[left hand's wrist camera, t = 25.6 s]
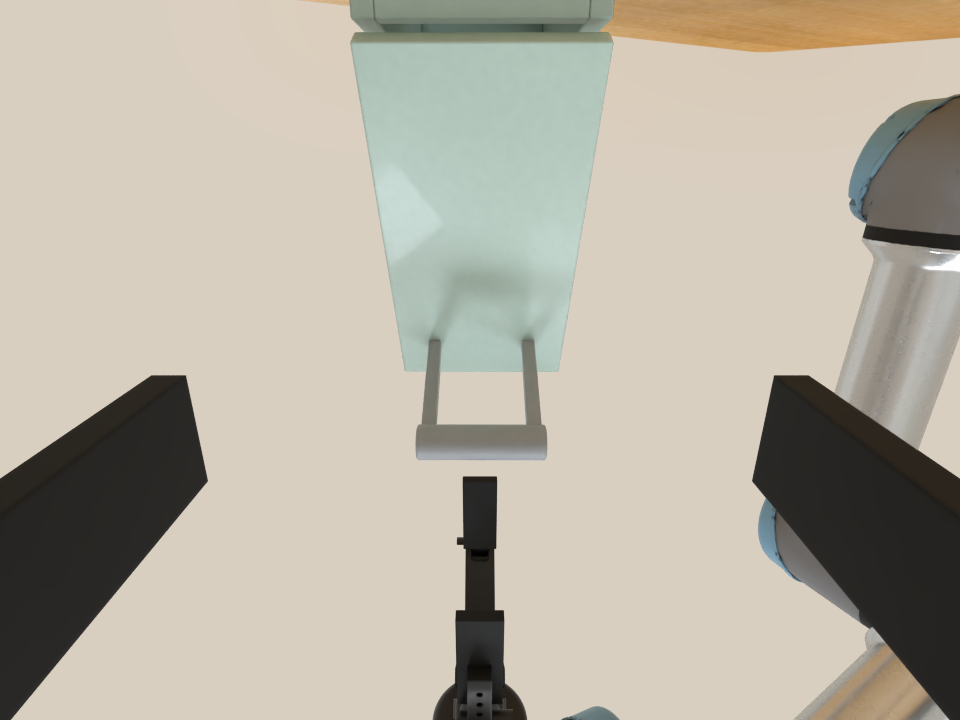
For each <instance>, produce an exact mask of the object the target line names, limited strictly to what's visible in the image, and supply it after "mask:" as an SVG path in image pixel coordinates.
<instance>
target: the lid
mask: <svg viewBox="0 0 960 720" xmlns="http://www.w3.org/2000/svg"><path fill="white" fill-rule="evenodd" d="M350 44H351V50H352V56H353V62H354V68H355V74H356V80H357V86H358V92H359V98H360V104H361V110H362V116H363V122H364V128H365V134H366V140H367V146H368V152H369V158H370V164H371V170H372V176H373V182H374V188H375V194H376V200H377V206H378V212H379V218H380V224H381V230H382V236H383V242H384V248H385V254H386V260H387V266H388V272H389V278H390V284H391V290H392V296H393V302H394V308H395V314H396V320H397V326H398V332H399V338H400V344H401V350H402V356H403V362H404V368H405V371H425V372H426V379H425V390H424V402H423V413H422V425H418V427H417V431H416V457H417V459H418V460H545V459H546V456H547V431H546V427H545V425H542V424H541V413H540V401H539V389H538V377H537V372H558V370H559V364H560V358H561V352H562V346H563V340H564V334H565V328H566V323H567V317H568V311H569V305H570V299H571V293H572V287H573V281H574V275H575V269H576V263H577V257H578V251H579V245H580V239H581V233H582V227H583V221H584V215H585V209H586V203H587V198H588V192H589V186H590V180H591V174H592V168H593V162H594V156H595V150H596V144H597V138H598V132H599V126H600V120H601V114H602V108H603V102H604V96H605V90H606V84H607V78H608V72H609V66H610V61H611V55H612V48H613V40H612V37H611V35H610V33H609V32H356V33H354V35H353V37H352V40H351V43H350ZM440 372H523V382H524V398H525V414H526V425H437V413H438V398H439V383H440Z"/></svg>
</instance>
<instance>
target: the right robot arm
mask: <svg viewBox="0 0 960 720" xmlns="http://www.w3.org/2000/svg"><path fill="white" fill-rule="evenodd" d="M849 197H850V198H851V201H850V203H849V205H850V210H851V212H852V213H853V215H854V216H855V217H857V218H858V219H860V220H861V221H862V222H865V223H866V227H865V231H864V234H863V238H862V242H863V243H864V244H865V246H866V247H867V248H868V249H869V251H870V252H871V253H872V255H873V258H874V262H873V265H872V268H871V272H870V275H869V279H868V282H867V285H866V289H865V292H864V295H863V299H862V302H861V305H860V309H859V312H858V316H857V319H856V322H855V325H854V329H853V332H852V336H851V339H850V342H849V346H848V349H847V352H846V356H845V359H844V363H843V366H842V369H841V373H840V376H839V379H838V383H837V386H836V389H835V394H836V395H838V396H839V397H841V398H842V399H844V400H845V401H847V402H848V403H850V404H851V405H853V406H854V407H855V408H857V409H858V410H860V411H861V412H863V413H864V414H866V415H867V416H869V417H870V418H872V419H873V420H875V421H876V422H877V423H879V424H880V425H882V426H883V427H885V428H886V429H888V430H889V431H891V432H892V433H894V434H895V435H897V436H898V437H899V438H901V439H902V440H904V441H905V442H907V443H908V444H910V445H911V446H913V447H914V448H916V449H917V450H918V449H919V446H920V443H921V441H922V438H923V435H924V432H925V430H926V427H927V424H928V421H929V419H930V416H931V413H932V410H933V408H934V405H935V402H936V400H937V397H938V394H939V391H940V389H941V386H942V383H943V380H944V378H945V375H946V372H947V369H948V367H949V364H950V361H951V358H952V356H953V353H954V350H955V348H956V345H957V342H958V339H959V337H960V94H958V95H953V96H950V97H948V98H941V99H932V100H924V101H918V102H915V103H911V104H909V105H907V106H904V107H902V108H901V109H899V110H897V111H896V112H895V113H893V114H892V115H891V116H890V117H889V118H888V119H887V120H886V121H885V122H884V123H882V124H881V125H880V126H879V127H878V128H877V129H876V131H875V132H874V133H873V134H872V136H871V137H870V139H869V140H868V142H867V143H866V145H865V146H864V148H863V150H862V152H861V154H860V156H859V158H858V160H857V162H856V165H855V167H854V170H853V173H852V176H851V180H850V185H849ZM496 526H497V477H463V537H458V538H457V545H464V549H466V581H465V610H456V620H455V622H456V668H455V684H453V685H452V686H451V687H449V688H448V689H447V690H446V691H445V692H444V693H443V695H442V696H441V698H440V699H439V701H438V703H437V705H436V708H435V711H434V715H433V720H527V716H526V711H525V708H524V705H523V703H522V701H521V699H520V698H519V696H518V695H517V694H516V693H515V691H514V690H513V689H512V688H510V687H509V686H508V685H507V684H505V668H504V663H503V656H504V611H503V610H495V588H494V587H495V586H494V549H496ZM758 535H759V540H760V544H761V546H762V549H763V551H764V552H765V554H766V555H767V556H768V557H769V558H770V559H771V560H772V561H773V562H774V563H776V564H777V565H779V566H780V567H781V568H782V569H784V571H785V572H786V573H787V574H788V575H789V576H790V577H792V578H793V579H795V580H797V581H799V582H803V583H804V584H806V585H807V586H809V587H810V588H812V589H813V590H814V591H816V592H817V593H819V594H820V595H822V596H823V597H825V598H826V599H827V600H829V601H830V602H832V603H833V604H834V605H836V606H837V607H839V608H840V609H842V610H843V611H844V612H846V613H847V614H849V615H850V616H852V617H853V618H854V619H856V620H857V621H859V622H860V623H862V624H863V625H865V626H866V627H868V628H869V630H868V631H867V633H866V635H865V643H866V647H867V650H866V651H865V652H864V653H863V654H862V655H861V656H860V657H859V658H858V659H857V660H856V661H855V662H854V663H853V664H852V665H851V666H849V667H848V668H847V669H846V670H845V671H844V672H843V673H842V674H841V675H840V676H839V677H838V678H837V679H836V680H835V681H834V682H833V683H832V684H830V685H829V686H828V687H827V688H826V689H825V690H824V691H823V692H822V693H821V694H820V695H819V696H818V697H817V698H816V699H815V700H814V701H813V702H812V703H810V704H809V705H808V706H807V707H806V708H805V709H804V710H803V711H802V712H801V713H800V714H799V715H798V716H797V717H796V718H795V719H794V720H949V719H948V718H947V717H946V715H945V714H944V713H943V712H942V710H941V709H940V708H939V707H938V706H937V704H936V703H935V702H934V701H933V700H932V698H931V697H930V696H929V695H928V694H927V692H926V691H925V690H924V689H923V687H922V686H921V685H920V684H919V683H918V681H917V680H916V679H915V678H914V677H913V675H912V674H911V673H910V672H909V671H908V669H907V668H906V667H905V666H904V664H903V663H902V662H901V661H900V660H899V658H898V657H897V656H896V655H895V654H894V652H893V651H892V650H891V649H890V647H889V646H888V645H887V644H886V643H885V641H884V640H883V639H882V638H881V637H880V635H879V634H878V633H877V632H876V631H875V629H874V628H873V627H872V626H871V624H870V623H869V622H868V621H867V620H866V618H865V617H864V616H863V615H862V614H861V612H860V611H859V610H858V609H857V608H856V606H855V605H854V604H853V603H852V601H851V600H850V599H849V598H848V597H847V595H846V594H845V593H844V592H843V591H842V589H841V588H840V587H839V586H838V585H837V583H836V582H835V581H834V580H833V578H832V577H831V576H830V575H829V574H828V572H827V571H826V570H825V569H824V568H823V566H822V565H821V564H820V563H819V562H818V560H817V559H816V558H815V557H814V555H813V554H812V553H811V552H810V551H809V549H808V548H807V547H806V546H805V545H804V543H803V542H802V541H801V540H800V538H799V537H798V536H797V535H796V534H795V532H794V531H793V530H792V529H791V528H790V526H789V525H788V524H787V523H786V522H785V520H784V519H783V518H782V517H781V515H780V514H779V513H778V512H777V511H776V509H775V508H774V507H773V506H772V505H771V503H770V502H769V501H768V500H767V499H765V501H764V504H763V506H762V509H761V512H760V517H759V524H758ZM562 720H619V719H618V718H617V717H616V716H615V715H614V714H613V713H612V712H611V711H609V710H607V709H606V708H603V707H598V706H596V707H591V708H589V709H587V710H584V711H582V712H580V713H578V714H575V715H573V716H571V717H566V718H563V719H562Z"/></svg>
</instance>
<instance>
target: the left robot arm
mask: <svg viewBox="0 0 960 720" xmlns="http://www.w3.org/2000/svg"><path fill="white" fill-rule="evenodd" d="M207 482H208V479H207V474H206V470H205V465H204V460H203V455H202V451H201V446H200V441H199V436H198V431H197V427H196V422H195V417H194V412H193V407H192V403H191V398H190V393H189V388H188V383H187V379H186V376H184V375H176V376H175V375H170V376H169V375H167V376H166V375H162V376H161V375H160V376H159V375H154V376H153V375H152V376H150V377H149V378H147V379H146V380H144V381H143V382H141V383H140V384H138V385H137V386H135V387H134V388H132V389H131V390H130V391H128V392H127V393H125V394H124V395H122V396H121V397H119V398H118V399H116V400H115V401H113V402H112V403H110V404H109V405H107V406H106V407H105V408H103V409H102V410H100V411H99V412H97V413H96V414H94V415H93V416H91V417H90V418H88V419H87V420H86V421H84V422H83V423H81V424H80V425H78V426H77V427H75V428H74V429H72V430H71V431H69V432H68V433H66V434H65V435H64V436H62V437H61V438H59V439H58V440H56V441H55V442H53V443H52V444H50V445H49V446H47V447H46V448H44V449H43V450H41V451H40V452H39V453H37V454H36V455H34V456H33V457H31V458H30V459H28V460H27V461H25V462H24V463H22V464H21V465H19V466H18V467H17V468H15V469H14V470H12V471H11V472H9V473H8V474H6V475H5V476H3V477H2V478H0V720H11V719H12V718H13V716H14V715H15V714H16V713H17V712H18V710H19V709H20V708H21V707H22V706H23V704H24V703H25V702H26V701H27V700H28V698H29V697H30V696H31V695H32V694H33V692H34V691H35V690H36V689H37V687H38V686H39V685H40V684H41V683H42V681H43V680H44V679H45V678H46V677H47V675H48V674H49V673H50V672H51V670H52V669H53V668H54V667H55V666H56V664H57V663H58V662H59V661H60V660H61V658H62V657H63V656H64V655H65V654H66V652H67V651H68V650H69V649H70V647H71V646H72V645H73V644H74V643H75V641H76V640H77V639H78V638H79V637H80V635H81V634H82V633H83V632H84V631H85V629H86V628H87V627H88V626H89V624H90V623H91V622H92V621H93V620H94V618H95V617H96V616H97V615H98V614H99V612H100V611H101V610H102V609H103V607H104V606H105V605H106V604H107V603H108V601H109V600H110V599H111V598H112V597H113V595H114V594H115V593H116V592H117V590H118V589H119V588H120V587H121V586H122V584H123V583H124V582H125V581H126V580H127V578H128V577H129V576H130V575H131V574H132V572H133V571H134V570H135V569H136V568H137V566H138V565H139V564H140V563H141V561H142V560H143V559H144V558H145V557H146V555H147V554H148V553H149V552H150V551H151V549H152V548H153V547H154V546H155V545H156V543H157V542H158V541H159V540H160V538H161V537H162V536H163V535H164V534H165V532H166V531H167V530H168V529H169V527H170V526H171V525H172V524H173V523H174V522H175V520H176V519H177V518H178V517H179V515H180V514H181V513H182V512H183V511H184V509H185V508H186V507H187V506H188V505H189V503H190V502H191V501H192V500H193V498H194V497H195V496H196V495H197V494H198V492H199V491H200V490H201V489H202V488H203V486H204V485H205V484H206V483H207ZM752 482H753V483H754V484H755V485H756V486H757V488H758V489H759V490H760V491H761V492H762V494H763V495H764V496H765V497H766V499H767V500H768V501H769V502H770V503H771V505H772V506H773V507H774V508H775V509H776V511H777V512H778V513H779V514H780V515H781V517H782V518H783V519H784V520H785V522H786V523H787V524H788V525H789V526H790V528H791V529H792V530H793V531H794V532H795V534H796V535H797V536H798V537H799V538H800V540H801V541H802V542H803V543H804V545H805V546H806V547H807V548H808V549H809V551H810V552H811V553H812V554H813V555H814V557H815V558H816V559H817V560H818V562H819V563H820V564H821V565H822V566H823V568H824V569H825V570H826V571H827V572H828V574H829V575H830V576H831V577H832V578H833V580H834V581H835V582H836V583H837V585H838V586H839V587H840V588H841V589H842V591H843V592H844V593H845V594H846V595H847V597H848V598H849V599H850V600H851V601H852V603H853V604H854V605H855V606H856V608H857V609H858V610H859V611H860V612H861V614H862V615H863V616H864V617H865V618H866V620H867V621H868V622H869V623H870V624H871V626H872V627H873V628H874V629H875V631H876V632H877V633H878V634H879V635H880V637H881V638H882V639H883V640H884V641H885V643H886V644H887V645H888V646H889V647H890V649H891V650H892V651H893V652H894V654H895V655H896V656H897V657H898V658H899V660H900V661H901V662H902V663H903V664H904V666H905V667H906V668H907V669H908V671H909V672H910V673H911V674H912V675H913V677H914V678H915V679H916V680H917V681H918V683H919V684H920V685H921V686H922V687H923V689H924V690H925V691H926V692H927V694H928V695H929V696H930V697H931V698H932V700H933V701H934V702H935V703H936V704H937V706H938V707H939V708H940V709H941V710H942V712H943V713H944V714H945V715H946V717H947V718H948V719H949V720H960V478H958V477H957V476H955V475H954V474H952V473H951V472H949V471H948V470H946V469H945V468H943V467H942V466H941V465H939V464H937V463H936V462H935V461H933V460H932V459H930V458H929V457H927V456H926V455H924V454H923V453H921V452H920V451H919V450H917V449H916V448H914V447H913V446H911V445H910V444H908V443H907V442H905V441H904V440H902V439H901V438H899V437H898V436H897V435H895V434H894V433H892V432H891V431H889V430H888V429H886V428H885V427H883V426H882V425H880V424H879V423H877V422H876V421H875V420H873V419H872V418H870V417H869V416H867V415H866V414H864V413H863V412H861V411H860V410H858V409H857V408H855V407H854V406H853V405H851V404H850V403H848V402H847V401H845V400H844V399H842V398H841V397H839V396H838V395H836V394H835V393H833V392H832V391H831V390H829V389H828V388H826V387H825V386H823V385H822V384H820V383H819V382H817V381H816V380H814V379H813V378H811V377H810V376H807V375H805V376H804V375H797V376H795V375H789V376H787V375H785V376H783V375H775V376H774V379H773V383H772V388H771V393H770V398H769V403H768V407H767V412H766V417H765V422H764V427H763V431H762V436H761V441H760V446H759V451H758V455H757V460H756V465H755V470H754V474H753V479H752Z"/></svg>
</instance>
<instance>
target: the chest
mask: <svg viewBox="0 0 960 720" xmlns="http://www.w3.org/2000/svg"><path fill="white" fill-rule="evenodd" d="M613 11H614V0H350V14H351V18H352V20H353V21H354V22H355V23H356V24H357V25H358V26H359V27H360V28H361V29H362V30H363V31H364V32H599V31H600V30H601V29H602V28H603V27H604V26H605V25H606V24H607V23H608V22H609V21H610V20H611V19H612V18H613Z"/></svg>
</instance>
